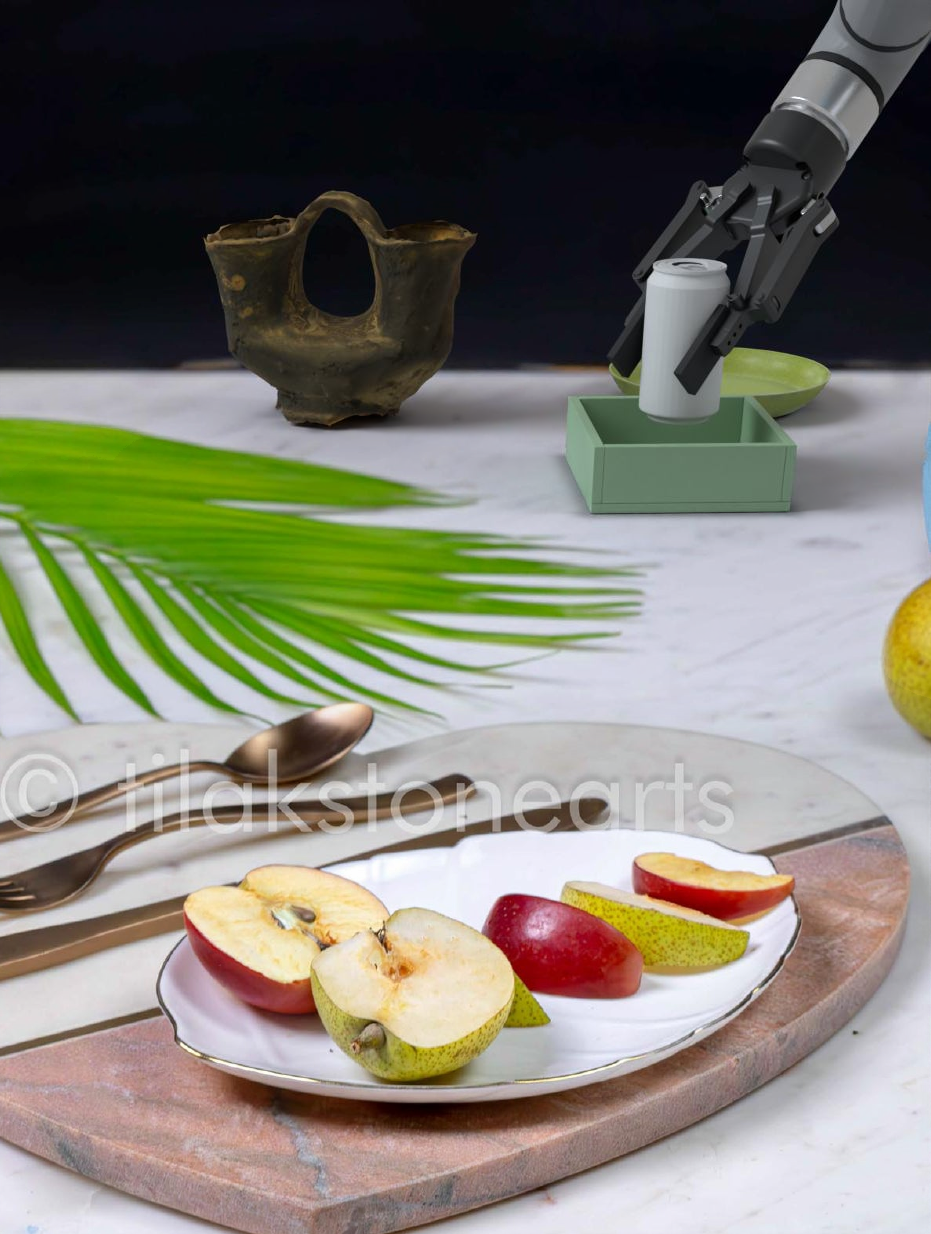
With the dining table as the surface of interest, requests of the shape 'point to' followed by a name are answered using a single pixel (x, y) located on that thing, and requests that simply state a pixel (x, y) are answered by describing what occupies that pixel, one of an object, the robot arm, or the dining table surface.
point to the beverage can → (679, 337)
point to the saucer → (758, 379)
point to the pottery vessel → (331, 345)
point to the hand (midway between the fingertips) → (650, 375)
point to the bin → (678, 458)
